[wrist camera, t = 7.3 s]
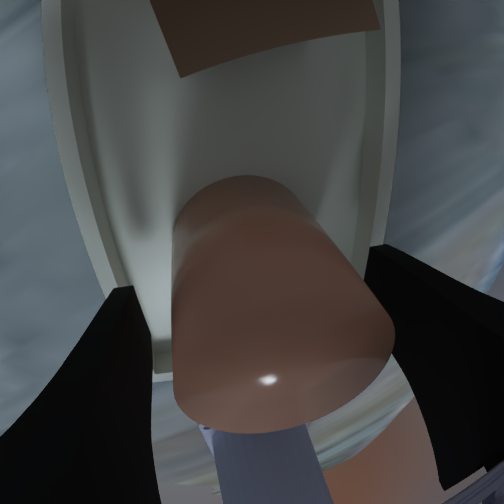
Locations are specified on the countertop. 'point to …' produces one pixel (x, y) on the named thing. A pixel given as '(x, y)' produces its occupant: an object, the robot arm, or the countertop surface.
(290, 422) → the brown rounded cylinder
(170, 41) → the walnut block
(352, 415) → the countertop surface
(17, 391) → the countertop surface
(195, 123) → the tray
